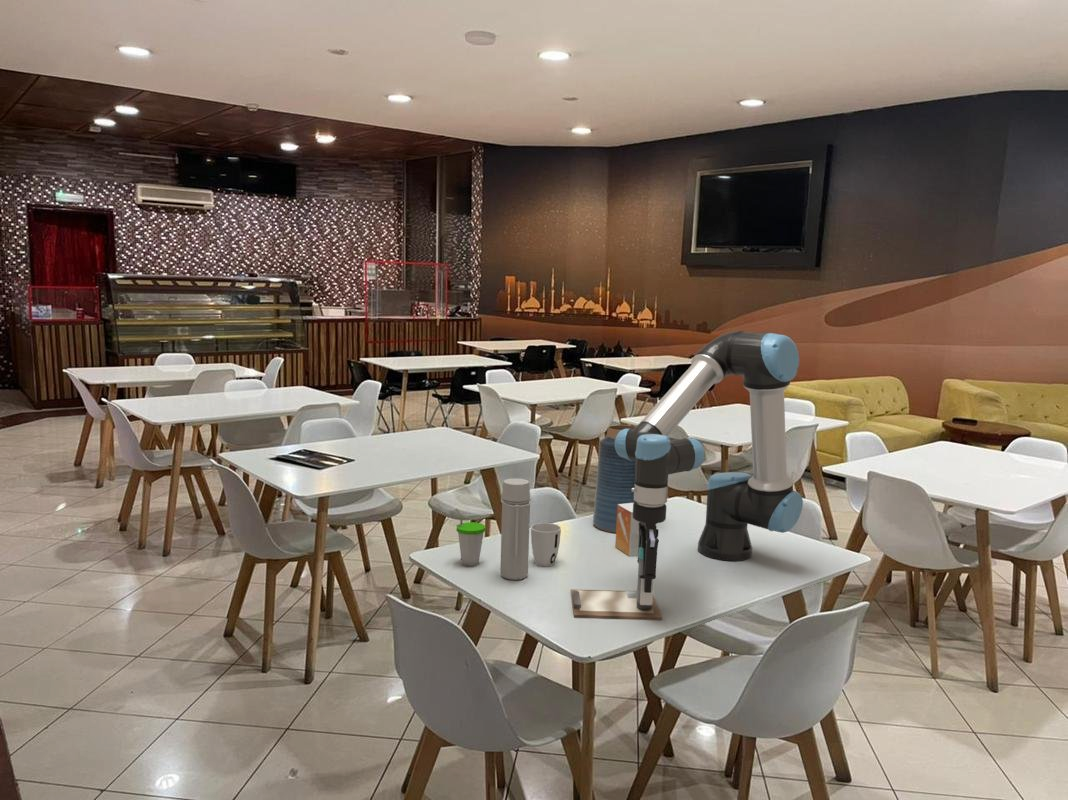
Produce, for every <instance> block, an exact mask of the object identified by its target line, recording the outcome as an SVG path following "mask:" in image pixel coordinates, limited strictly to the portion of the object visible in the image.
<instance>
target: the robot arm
mask: <svg viewBox="0 0 1068 800" xmlns="http://www.w3.org/2000/svg"><path fill="white" fill-rule="evenodd" d="M798 351H799V349H798V347H797V345H796V343H795V342H794V341H793V340H792V339H791V338H790V337H789V336H787V335H785V334H780V333H779V334H777V333H775V332H755V331H743V330H736V331H735V330H733V331H729V332H726V333H723V334H721V335H719V336H717V337H716V338H714V339H713V340H711V341H710V342H708V343H707V344H705V345H704V346H702V348H700V350H699V351H697V352H696V353H695V355H694V356H693V357H692V359H691V361H690V363H691V365H690V366H689V367H688V369H686V371H685V372H684V373H683V374H682V375H681V376H680V377H679V378H678V380H677V381H676V382H675V383H674V384H673V385H672V386H671V387H670V388H669V389H668V391H667V392H666V393H665V394H664V395H663V396H662V397H661V398H660V399H659V401H658V402H657V403H656V404H655V405H654V406H653V407H652V409H651V410H650V411H649V412H648V413H646V415H645V416H644V418H643V419H642V420H641V421H640V422H639V423H638V424H637V425H636V426H635V427H636V428H635V429H623V430H621V431H620V432H619V433H618V434H617V436H616V439H615V450H616V452H617V454H618V455H619V456H620V457H623V458H625V459H628V460H630V461H635V485H634V486H635V488H632V492H634V500H635V502H634V503H633V518H634V519H635V520H636V521H639V545H638V555H637V565H638V566H639V548H640V547H642V548H643V575H639V578H641V593H640V605H652V600H653V596H654V580H656V578H657V563H658V562H657V561H658V560H657V559H658V547H659V540H660V539H659V529H657V524H661V523H664V522H665V521H666V520H667V504H666V503H667V502H668V492H669V491H668V490H669V489H668V488H669V485H668V484H669V483H668V482H669V475H672V474H678V473H683V472H691V471H693V470H695V469H698V468H700V467H701V465H702V464H703V463H704V460H705V449H704V446H703V444H702V443H701V442H700V441H699V440H698V439H696V438H692V437H691V438H690V437H684V438H673V437H669V435H670V434H671V433H672V432H673V431H674V430H675V429H676V427H678V425H679V424H680V423H681V422H682V421H683V419H685V417H686V416H687V415H688V414H689V412H691V411H692V409H693V408H694V407H695V406H696V405H697V403H698V402H699V401H700V400H701V399H702V398H703V396H704V395H705V394H706V393H707V392H708V391H709V389H710V388H711V387H712V386H714V385H715V384H718V383H720V382H721V381H723V380H724V378H726V377H728V376H733V375H734V376H739V377H742V385H743V388H745V390H746V391H748V392H749V404H750V405H749V407H750V409H749V410H750V427H751V432H750V433H751V451H752V452H751V453H752V454H751V457H752V476H751V474H749V473H747V472H735V471H729V472H728V471H727V472H718V473H714V474H712V475H710V476H709V479H708V483H707V489H706V490H707V494H706V496H707V497H706V509H705V510H706V512H705V514H706V515H705V524H704V527H703V529H702V531H701V534H700V536H699V540H698V541H697V551H698V552H699V553H700V554H701V555H704V556H706V557H708V558H711V559H715V560H719V559H720V560H721V561H734V562H735V560H739V561H744V559H745V560H747V559H750V558H751V557H752V556H753V555H752V554H753V546H752V542H751V538H750V534H749V530H748V525H751V526H754V527H758V528H761V529H764V530H768V531H769V532H776V533H777V532H778V533H782V534H783V533H787V532H789V531H791V530H792V529H793V528H794V527H795V525H796V524H797V523H798V521H799V519H800V517H801V514H802V511H803V507H804V506H803V505H804V502H803V501H804V499H803V496H802V495H801V494H800V492H798V491H797V490H794V487H793V486H794V482H793V480H792V478H791V477H790V476H789V475H787V449H786V446H787V445H786V413H785V412H786V411H785V410H786V409H785V407H786V406H785V390H786V389H787V388H788V387H789V386H790V384H791V381H792V380H793V379H794V378H795V377H796V375H797V374H798V369H799V367H800V354H799V352H798Z"/></svg>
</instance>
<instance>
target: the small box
mask: <svg viewBox="0 0 1068 800" xmlns="http://www.w3.org/2000/svg"><path fill="white" fill-rule="evenodd" d="M614 544H615V548H616V549H618V550H620V551H621V552H623V553H624V554H625V555H627V556H628V557H634V556H638V545H639V521H636V520H635V519H634V518H633V503H625V504H618V505H617V524H616V533H615V543H614Z"/></svg>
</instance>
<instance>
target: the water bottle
mask: <svg viewBox="0 0 1068 800" xmlns="http://www.w3.org/2000/svg"><path fill="white" fill-rule="evenodd" d="M501 490H502V491H501V498H500V503H501V533H500V538H501V539H500V568H499V569H500V571H499V572H500V575H501V576H502V578H503V579H507V580H511V581H518V580H522V579H525V578H526V577H527V576H528V574H529V556H530V555H529V552H530V551H529V550H530V524H531V523H530V520H531V518H530V515H531V504H532V502H533V500H532V498H531V489H530V481H529V480H527V479H524V478H517V477H516V478H508V479H507V478H506V479H504V480H503V484H502V489H501Z"/></svg>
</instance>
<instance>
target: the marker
mask: <svg viewBox="0 0 1068 800" xmlns="http://www.w3.org/2000/svg"><path fill="white" fill-rule="evenodd" d="M638 565H639V566H638V570H637V587H636V588H637V589H636V591H637V605H636V607H637V608H638V609H640V610H651V609H652V605H640V593H641V578H639V575H643V548H642V547H640V548H639V564H638Z"/></svg>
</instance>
